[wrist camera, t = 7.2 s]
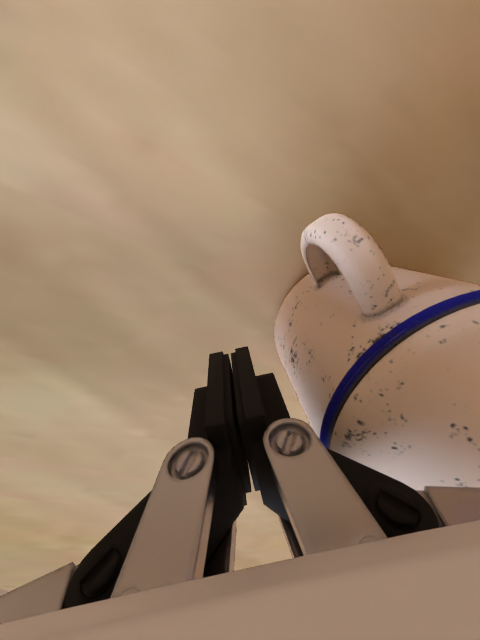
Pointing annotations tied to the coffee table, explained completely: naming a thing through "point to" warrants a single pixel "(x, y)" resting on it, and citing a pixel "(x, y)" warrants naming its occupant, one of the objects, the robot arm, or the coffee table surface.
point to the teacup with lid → (384, 358)
